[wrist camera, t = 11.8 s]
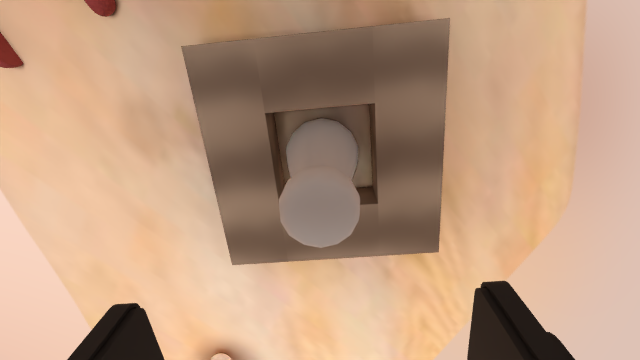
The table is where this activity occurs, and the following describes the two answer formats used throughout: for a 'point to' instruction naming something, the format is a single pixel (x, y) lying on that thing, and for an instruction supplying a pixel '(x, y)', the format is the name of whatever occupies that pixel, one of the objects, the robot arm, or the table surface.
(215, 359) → the lightbulb
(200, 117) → the walnut stand
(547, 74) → the table surface
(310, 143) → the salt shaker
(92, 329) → the robot arm
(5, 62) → the pliers
